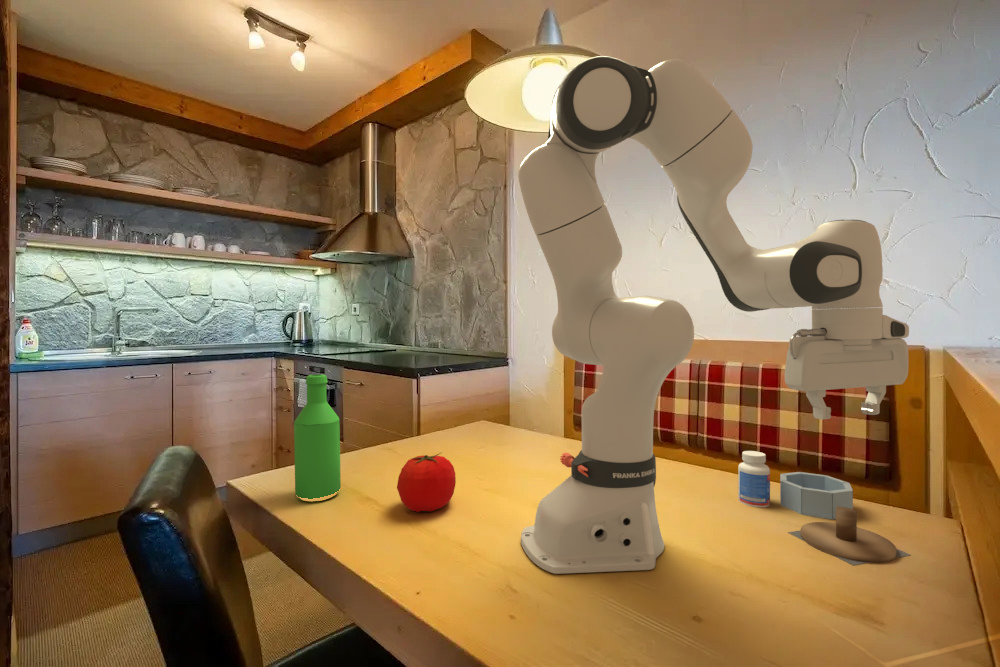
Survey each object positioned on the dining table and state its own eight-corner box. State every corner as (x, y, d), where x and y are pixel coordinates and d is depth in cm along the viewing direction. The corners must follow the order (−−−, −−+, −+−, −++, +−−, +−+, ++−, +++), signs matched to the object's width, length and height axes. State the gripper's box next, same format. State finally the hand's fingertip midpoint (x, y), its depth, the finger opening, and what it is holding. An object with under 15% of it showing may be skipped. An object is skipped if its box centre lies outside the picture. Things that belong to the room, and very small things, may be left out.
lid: (854, 567, 66) (854, 530, 66) (782, 531, 78) (782, 500, 78) (917, 556, 69) (917, 521, 69) (839, 523, 81) (839, 492, 81)
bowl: (817, 523, 81) (817, 495, 81) (766, 500, 92) (766, 475, 92) (866, 516, 84) (866, 488, 84) (811, 495, 95) (811, 470, 95)
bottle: (341, 500, 94) (339, 376, 94) (294, 506, 91) (292, 378, 91) (339, 486, 103) (337, 372, 102) (296, 491, 99) (294, 374, 99)
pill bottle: (774, 510, 87) (774, 458, 87) (743, 508, 88) (743, 456, 88) (764, 499, 93) (764, 450, 93) (734, 497, 94) (734, 449, 94)
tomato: (470, 502, 93) (469, 450, 93) (426, 525, 82) (425, 467, 82) (427, 491, 99) (426, 442, 99) (381, 511, 88) (380, 457, 88)
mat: (853, 568, 67) (853, 565, 67) (787, 534, 77) (787, 532, 77) (911, 557, 69) (911, 554, 69) (840, 526, 80) (840, 524, 80)
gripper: (809, 329, 67) (809, 425, 68) (918, 325, 72) (918, 415, 72) (773, 329, 73) (774, 417, 74) (876, 325, 78) (876, 408, 79)
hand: (846, 416), depth 73 cm, fingers open, 8 cm apart
